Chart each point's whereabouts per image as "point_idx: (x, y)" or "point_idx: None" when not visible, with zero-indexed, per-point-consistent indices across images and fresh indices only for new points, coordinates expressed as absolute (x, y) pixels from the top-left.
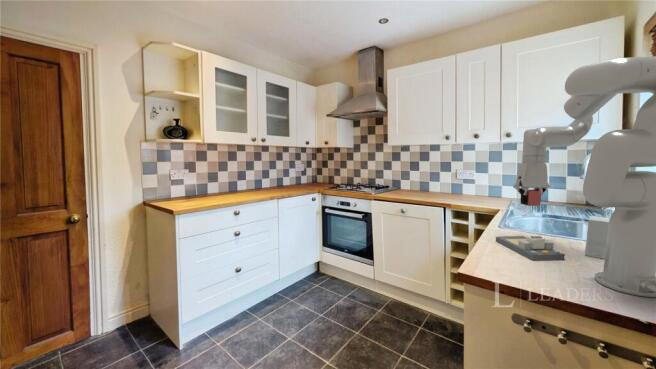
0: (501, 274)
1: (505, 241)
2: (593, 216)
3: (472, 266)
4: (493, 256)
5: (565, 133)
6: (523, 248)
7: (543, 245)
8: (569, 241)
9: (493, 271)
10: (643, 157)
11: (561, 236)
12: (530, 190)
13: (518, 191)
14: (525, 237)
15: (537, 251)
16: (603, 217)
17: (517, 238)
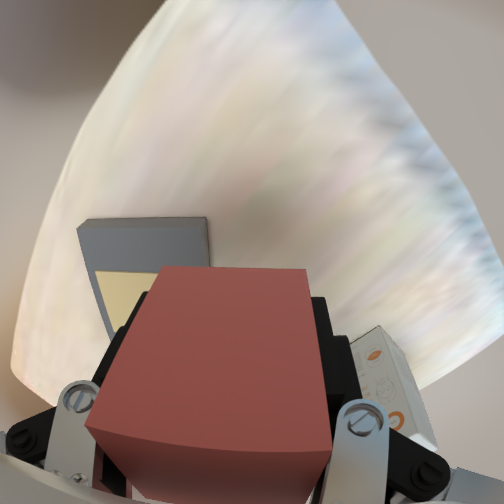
0: (59, 394)
1: (92, 286)
2: (413, 440)
3: (19, 362)
4: (53, 337)
5: None
6: None
7: None
8: (417, 243)
9: (48, 384)
10: None
11: (451, 175)
12: (191, 488)
13: (36, 420)
14: (200, 251)
15: None
16: (427, 445)
17: (153, 261)
